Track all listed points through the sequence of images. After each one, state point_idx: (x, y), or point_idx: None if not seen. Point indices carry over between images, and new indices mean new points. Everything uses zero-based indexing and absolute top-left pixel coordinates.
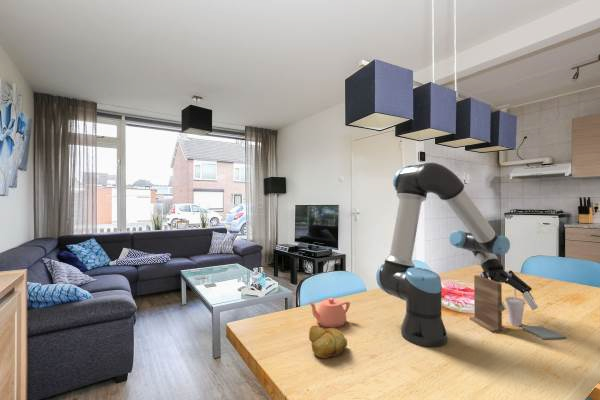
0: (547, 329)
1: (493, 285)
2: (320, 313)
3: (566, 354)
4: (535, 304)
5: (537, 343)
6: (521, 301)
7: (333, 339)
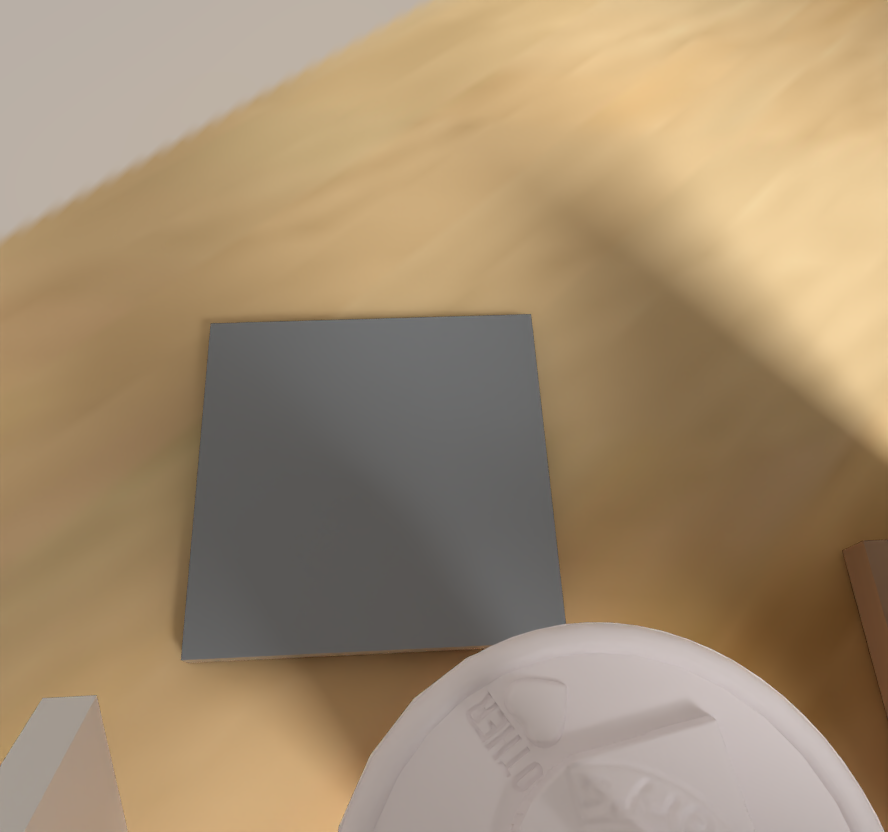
0: (234, 527)
1: None
2: None
3: (559, 88)
4: (52, 748)
5: (667, 264)
6: (556, 689)
7: None
